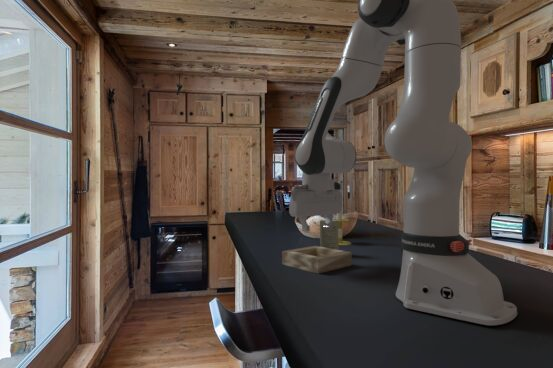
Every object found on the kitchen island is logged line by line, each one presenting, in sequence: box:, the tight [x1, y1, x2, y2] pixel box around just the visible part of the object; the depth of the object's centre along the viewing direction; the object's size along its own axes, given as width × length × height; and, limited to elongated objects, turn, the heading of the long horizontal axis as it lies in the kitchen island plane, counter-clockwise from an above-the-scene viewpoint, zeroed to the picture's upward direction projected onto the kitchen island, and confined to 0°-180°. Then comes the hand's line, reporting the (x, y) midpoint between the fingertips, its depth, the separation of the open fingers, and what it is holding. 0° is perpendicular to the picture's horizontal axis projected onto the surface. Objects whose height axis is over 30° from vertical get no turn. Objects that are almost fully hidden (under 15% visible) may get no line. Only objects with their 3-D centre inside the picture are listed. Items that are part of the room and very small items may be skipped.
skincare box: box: [319, 219, 340, 250], centre depth 124 cm, size 6×4×12 cm
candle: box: [332, 179, 352, 246], centre depth 146 cm, size 10×10×27 cm
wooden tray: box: [281, 245, 353, 274], centre depth 108 cm, size 15×15×4 cm
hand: (316, 230), depth 108 cm, fingers open, 8 cm apart
